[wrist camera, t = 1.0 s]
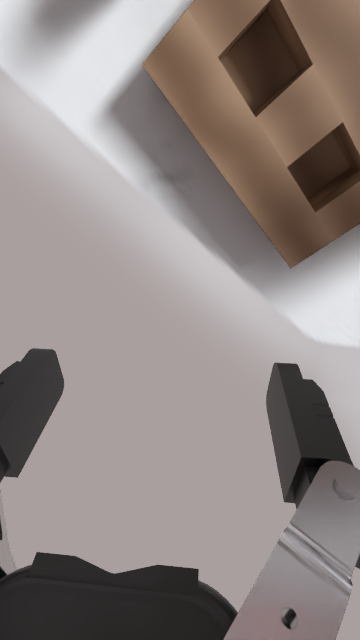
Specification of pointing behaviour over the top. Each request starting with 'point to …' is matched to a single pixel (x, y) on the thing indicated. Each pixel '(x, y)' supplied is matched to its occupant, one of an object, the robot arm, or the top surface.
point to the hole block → (273, 109)
